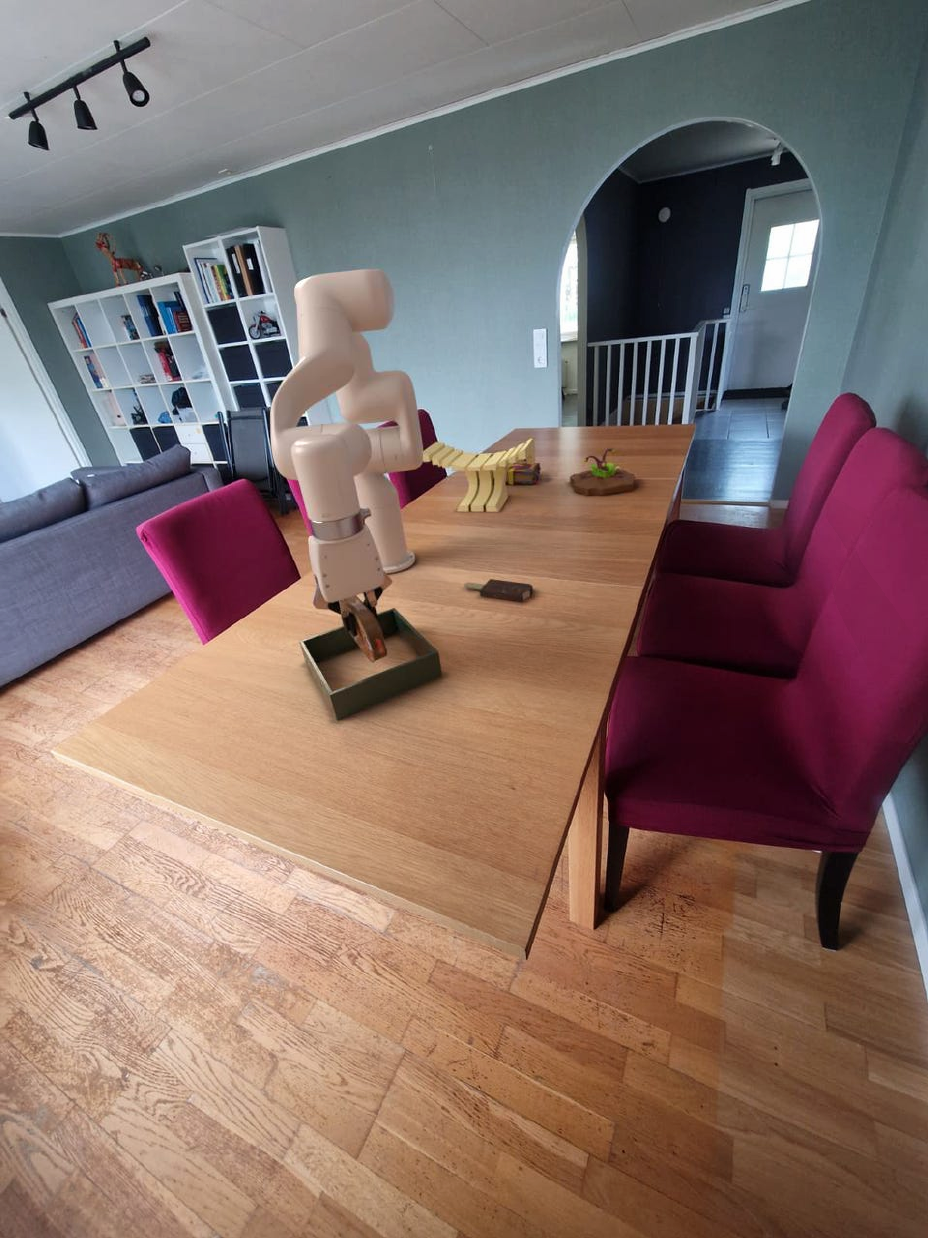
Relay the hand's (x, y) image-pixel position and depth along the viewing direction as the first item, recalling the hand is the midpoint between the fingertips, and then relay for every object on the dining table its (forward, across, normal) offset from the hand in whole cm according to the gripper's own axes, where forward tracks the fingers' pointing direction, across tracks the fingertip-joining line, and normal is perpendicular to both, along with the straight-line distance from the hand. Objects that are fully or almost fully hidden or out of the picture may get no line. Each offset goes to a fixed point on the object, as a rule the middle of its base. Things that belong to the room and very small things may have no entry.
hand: (362, 628), depth 84 cm
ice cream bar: (+9, -32, -9) cm, 34 cm away
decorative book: (+10, -82, -73) cm, 110 cm away
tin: (+4, -1, 0) cm, 4 cm away
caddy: (+8, 0, +1) cm, 8 cm away
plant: (+10, -97, -47) cm, 108 cm away
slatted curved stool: (+10, -61, -61) cm, 87 cm away
